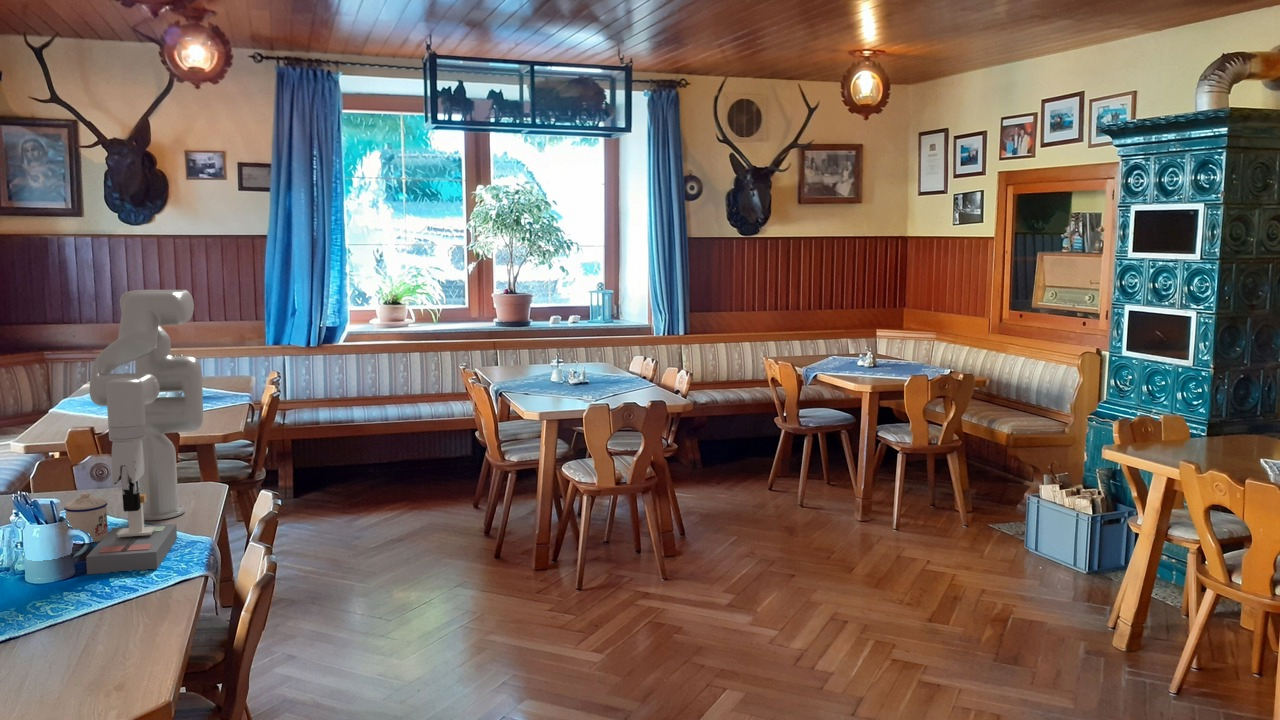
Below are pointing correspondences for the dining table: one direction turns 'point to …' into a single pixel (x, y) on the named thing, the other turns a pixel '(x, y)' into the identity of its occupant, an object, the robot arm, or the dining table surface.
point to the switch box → (131, 550)
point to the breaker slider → (137, 522)
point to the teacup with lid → (88, 515)
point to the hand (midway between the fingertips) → (132, 510)
